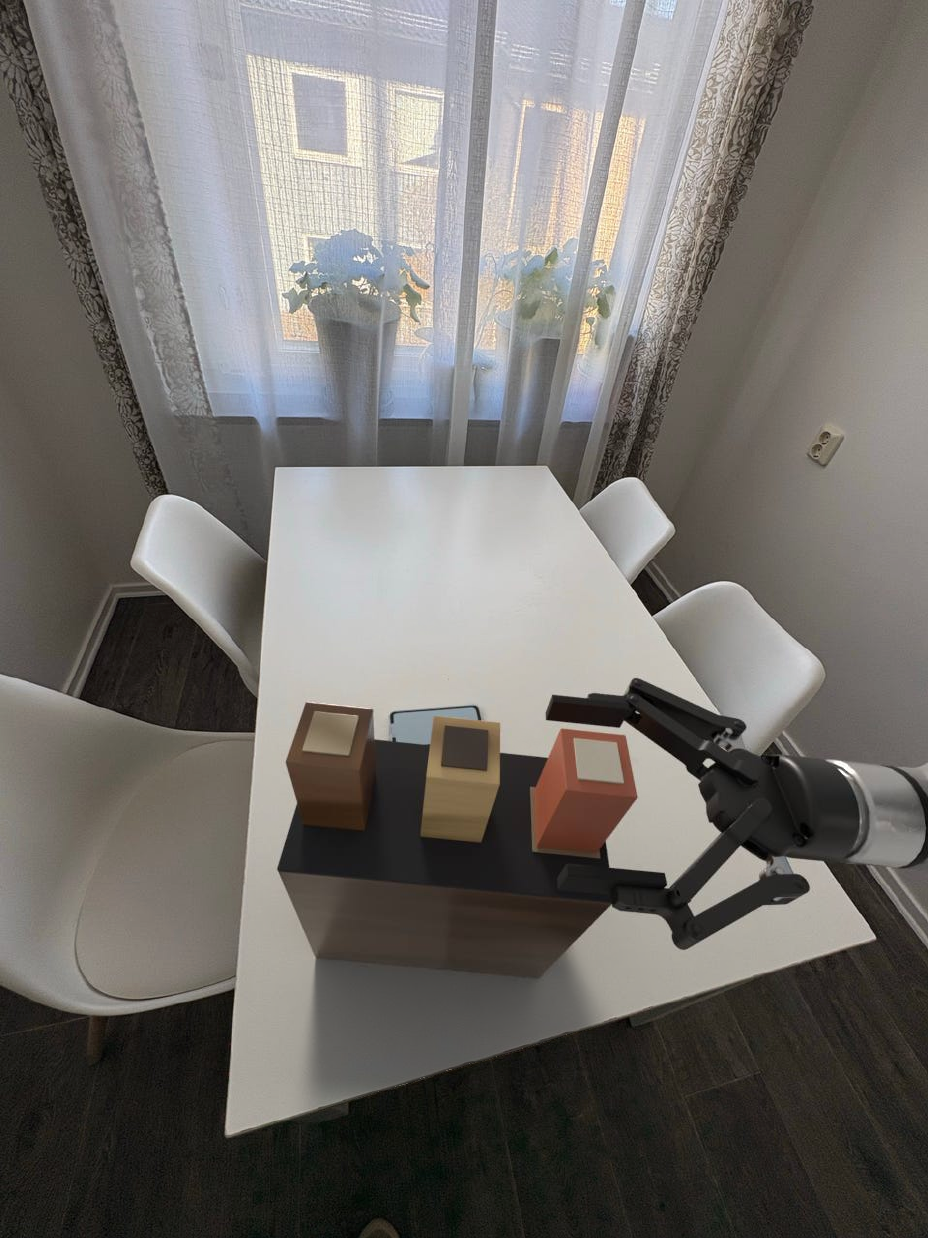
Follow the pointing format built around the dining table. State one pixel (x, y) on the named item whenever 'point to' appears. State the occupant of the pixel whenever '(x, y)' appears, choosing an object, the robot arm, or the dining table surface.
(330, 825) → the wooden block
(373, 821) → the black mat
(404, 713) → the smartphone
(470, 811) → the wooden pillar block
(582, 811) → the orange block
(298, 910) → the stand
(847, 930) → the dining table surface
